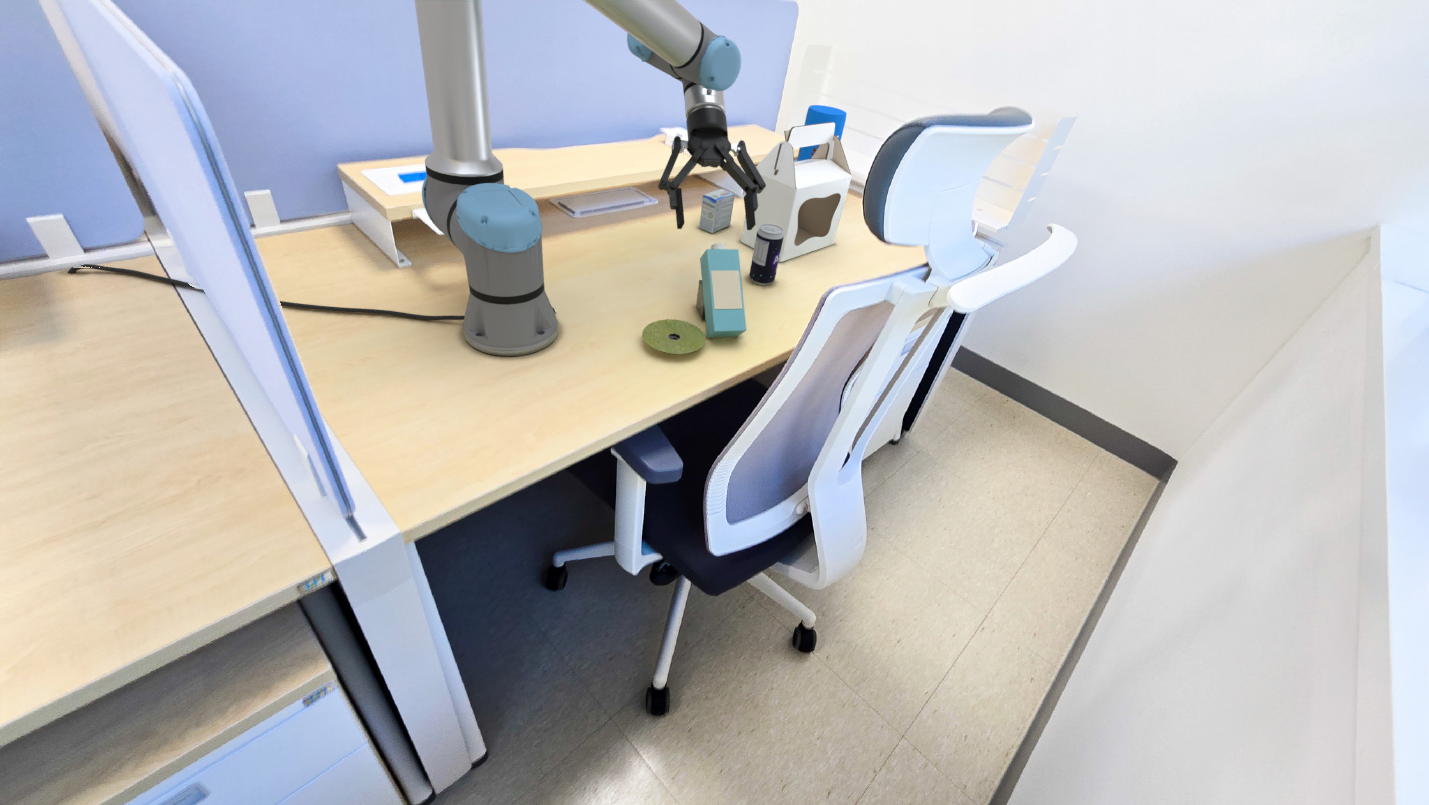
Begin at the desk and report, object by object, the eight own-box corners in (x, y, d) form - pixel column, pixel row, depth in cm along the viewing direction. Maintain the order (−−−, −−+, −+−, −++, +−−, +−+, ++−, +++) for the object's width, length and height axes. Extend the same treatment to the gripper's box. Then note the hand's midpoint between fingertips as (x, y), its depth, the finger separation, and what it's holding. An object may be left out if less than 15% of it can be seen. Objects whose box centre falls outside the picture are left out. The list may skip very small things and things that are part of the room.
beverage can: (772, 289, 124) (783, 236, 117) (746, 283, 125) (756, 230, 117) (775, 278, 129) (786, 226, 121) (750, 272, 129) (760, 221, 122)
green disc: (629, 336, 103) (630, 327, 102) (681, 322, 109) (682, 313, 108) (664, 369, 96) (665, 359, 95) (716, 352, 102) (718, 343, 101)
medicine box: (716, 221, 151) (721, 187, 146) (730, 226, 149) (735, 193, 144) (698, 228, 146) (702, 194, 140) (712, 234, 144) (717, 199, 138)
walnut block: (701, 320, 110) (705, 292, 107) (695, 307, 114) (699, 279, 110) (726, 319, 112) (731, 292, 108) (719, 306, 115) (724, 279, 112)
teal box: (711, 348, 103) (722, 274, 94) (693, 307, 114) (701, 238, 105) (743, 346, 105) (756, 274, 96) (722, 307, 115) (732, 239, 107)
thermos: (788, 202, 169) (807, 110, 154) (790, 191, 178) (808, 102, 162) (824, 209, 169) (847, 117, 153) (825, 197, 177) (847, 109, 162)
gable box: (795, 225, 155) (820, 113, 138) (834, 244, 149) (865, 128, 132) (739, 242, 142) (759, 119, 125) (779, 263, 135) (806, 137, 118)
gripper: (643, 99, 101) (653, 216, 99) (775, 110, 108) (787, 219, 106) (636, 123, 108) (646, 233, 106) (761, 132, 115) (772, 235, 113)
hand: (716, 226), depth 106 cm, fingers open, 13 cm apart
